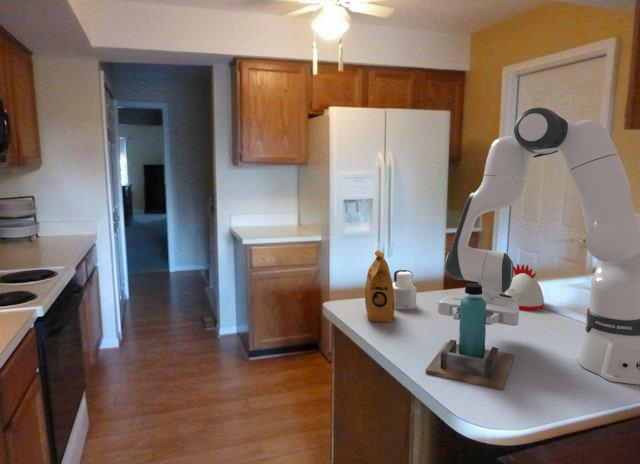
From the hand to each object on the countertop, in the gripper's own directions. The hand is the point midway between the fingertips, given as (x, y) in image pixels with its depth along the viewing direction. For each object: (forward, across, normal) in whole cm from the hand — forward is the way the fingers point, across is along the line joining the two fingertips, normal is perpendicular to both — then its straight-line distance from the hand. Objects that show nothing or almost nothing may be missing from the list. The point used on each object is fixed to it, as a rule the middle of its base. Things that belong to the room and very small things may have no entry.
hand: (472, 319), depth 116 cm
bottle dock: (-2, 0, +13) cm, 13 cm away
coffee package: (-26, -35, +13) cm, 45 cm away
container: (-40, -32, +13) cm, 53 cm away
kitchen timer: (-63, +6, +13) cm, 64 cm away
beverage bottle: (-1, 0, +12) cm, 12 cm away
